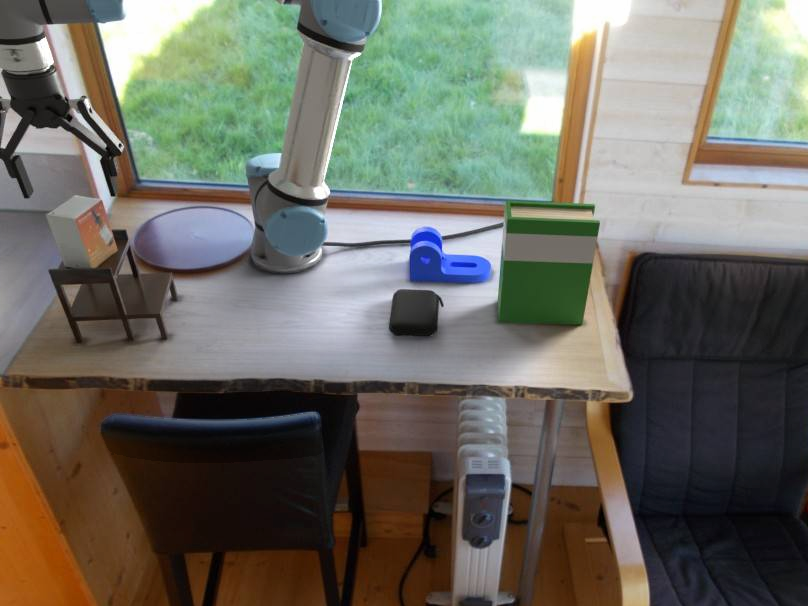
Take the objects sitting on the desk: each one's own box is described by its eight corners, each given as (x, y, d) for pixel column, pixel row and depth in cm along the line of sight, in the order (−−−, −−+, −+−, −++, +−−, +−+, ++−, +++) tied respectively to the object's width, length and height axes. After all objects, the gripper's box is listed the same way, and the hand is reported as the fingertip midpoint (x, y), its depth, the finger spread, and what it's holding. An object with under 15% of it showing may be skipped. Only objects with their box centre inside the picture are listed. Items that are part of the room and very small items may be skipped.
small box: (92, 272, 132) (74, 219, 125) (64, 267, 133) (44, 214, 126) (119, 250, 138) (103, 198, 131) (91, 245, 139) (74, 193, 132)
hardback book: (578, 304, 161) (594, 204, 145) (582, 324, 156) (600, 222, 140) (497, 301, 159) (505, 200, 144) (499, 322, 154) (507, 219, 138)
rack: (178, 297, 152) (160, 228, 141) (167, 339, 142) (146, 267, 131) (94, 300, 149) (69, 230, 138) (76, 343, 139) (48, 270, 128)
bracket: (409, 280, 163) (409, 245, 157) (411, 260, 169) (411, 225, 163) (491, 283, 165) (493, 248, 159) (489, 263, 171) (492, 229, 165)
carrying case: (442, 341, 148) (443, 299, 159) (442, 329, 146) (444, 287, 157) (388, 339, 147) (393, 297, 158) (387, 327, 145) (393, 285, 156)
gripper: (-74, 74, 108) (-16, 206, 122) (110, 76, 113) (145, 202, 127) (-54, 57, 114) (-1, 185, 128) (120, 59, 118) (153, 182, 132)
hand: (72, 194), depth 127 cm, fingers open, 13 cm apart
